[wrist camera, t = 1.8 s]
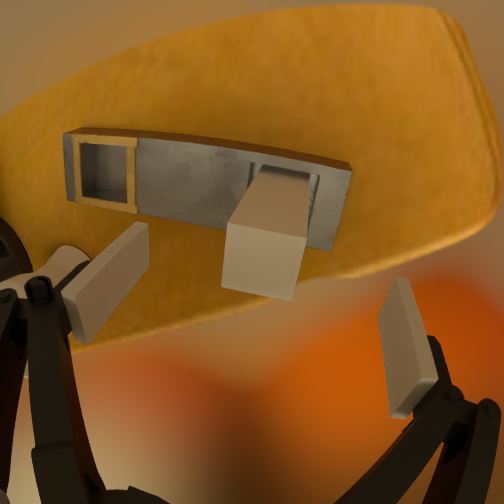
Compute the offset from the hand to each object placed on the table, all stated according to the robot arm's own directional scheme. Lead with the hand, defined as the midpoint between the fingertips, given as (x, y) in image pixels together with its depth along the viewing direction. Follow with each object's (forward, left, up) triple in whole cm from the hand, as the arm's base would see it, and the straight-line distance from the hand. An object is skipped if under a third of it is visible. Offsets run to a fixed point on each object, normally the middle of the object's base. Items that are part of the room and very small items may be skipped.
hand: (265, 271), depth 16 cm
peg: (0, 0, -13) cm, 13 cm away
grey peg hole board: (-8, 0, -13) cm, 16 cm away
